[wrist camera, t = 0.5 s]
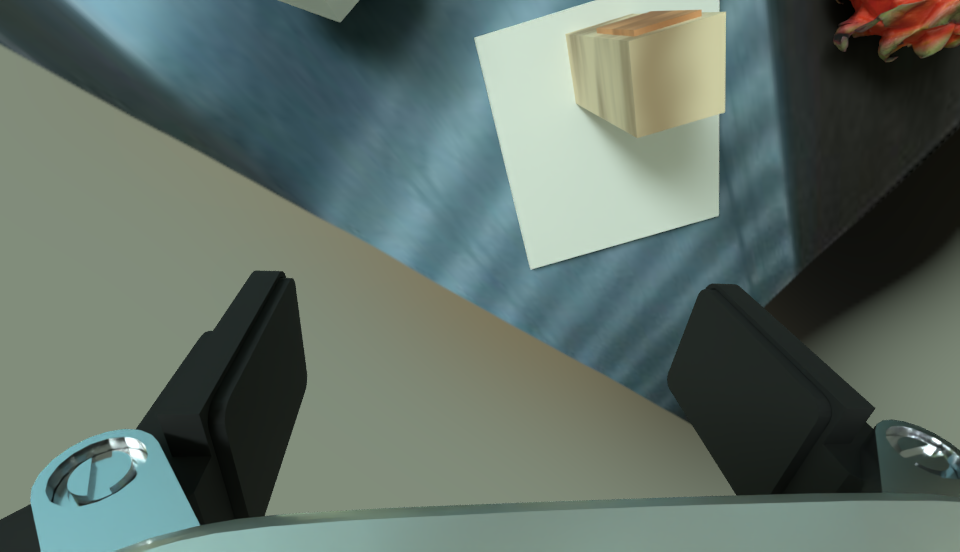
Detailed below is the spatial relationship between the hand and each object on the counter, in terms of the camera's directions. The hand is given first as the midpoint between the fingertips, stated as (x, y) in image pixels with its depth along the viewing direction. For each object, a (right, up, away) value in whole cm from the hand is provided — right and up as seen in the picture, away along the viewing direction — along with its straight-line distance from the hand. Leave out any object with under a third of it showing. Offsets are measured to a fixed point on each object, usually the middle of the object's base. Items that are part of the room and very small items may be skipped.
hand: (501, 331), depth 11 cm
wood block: (+9, +18, +24) cm, 31 cm away
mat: (+10, +13, +28) cm, 32 cm away
